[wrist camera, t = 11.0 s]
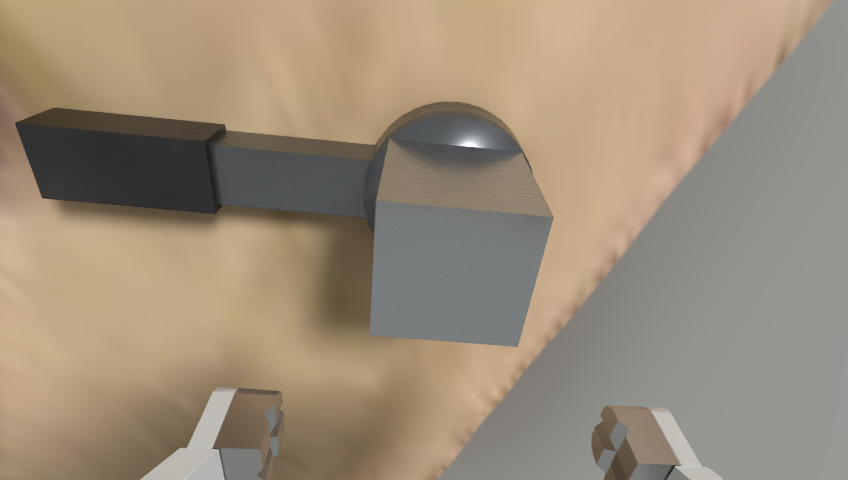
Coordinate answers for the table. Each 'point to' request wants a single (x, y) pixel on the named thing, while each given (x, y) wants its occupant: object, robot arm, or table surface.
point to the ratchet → (230, 160)
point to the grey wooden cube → (456, 243)
